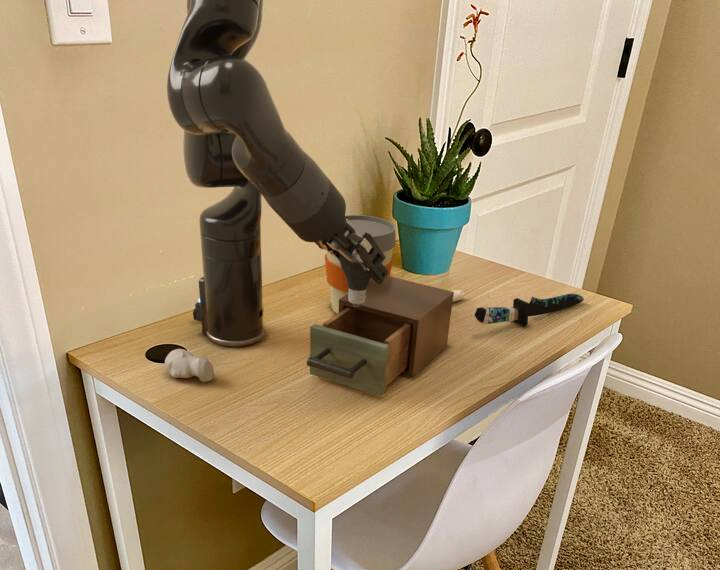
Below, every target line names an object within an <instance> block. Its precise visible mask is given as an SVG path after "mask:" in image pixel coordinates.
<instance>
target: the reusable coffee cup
mask: <svg viewBox="0 0 720 570" xmlns="http://www.w3.org/2000/svg"><path fill="white" fill-rule="evenodd" d="M345 218H346V219H348V220H349V221H350V222H351V223H352V224H353V225H354V227H355V229H356V230H357V231H358V232H359V233H360V234H361V235H364V234H365V233H369V234H370V235H371V236H372V237H373V239H374V240H375V242H376V243H377V245H378V246H379V248H380V249H381V251H382V252H383V254H384V255H385V257H386V258H385V259H384V261H383V262H382V264H383V265H384V267H385V268H386V269H387V270H388V275H387V276H391V272H392V267H393V262H394V259H393V257H392V256H393V252H394V251H393V250H394V248H395V247H396V244H397V242H396V240H397V239H396V238H397V237H396V226H395V224H394V223H392V222H391V221H389V220H387V219H385V218H381V217H377V216H372V215H363V214H347V215H346V214H345ZM325 251H326V253H325V255H324V262H325V263H324V265H325V274H326V275H325V276H326V282H327V284H328V285H329V291H330V292H329V293H330V301H331V309H332V311H333V312H334V313H336V314H338V313H339V299H340V298H342V297H343V296H345V295H347V294H348V292H349V288H348V284H347V278H346V275H345V273H344V271H343V269H342V267H341V264H340V261H339V260H338V259H337V258H336V257H335V255H334V256H333V255H330V254H329V252H328V251H327V250H325ZM370 279H372V278H370Z"/></svg>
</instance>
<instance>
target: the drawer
mask: <svg viewBox="0 0 720 570" xmlns="http://www.w3.org/2000/svg"><path fill="white" fill-rule="evenodd" d="M309 328H310V332H309V333H310V334H309V336H310V338H309V357H308V358H307V360H306V366H307V367H309V375H312V376H315V377H318V378H321V379H325V380H328V381H331V382H333V383H337V384H341V385H344V386H347V387H349V388H353V389H356V390H359V391H363V392H366V393H369V394H372V395H374V396H375V395H376V396H379V397H383V396H384V395H386V390H387V386H388V385H389V384H390V383H392V381H394V380H395V379H396V378H398V376H399V375H401V374H400V373H401V372H403V371H404V370H405V369H406V368H407V367H408V366H409V362H410V352H411V342H412V332H413V324H411V323H407V322H404V321H400V320H396V319H393V318H389V317H385V316H381V315H378V314H374V313H370V312H367V311H363V310H359V309H355V308H352V307H347V308H346V309H344V310H343V311H341V312H339V313H336V314H335V315H333V316H332V317H330V318H329V319H327V320H326V321H324V322H323V324H322V325H319V324H317V323H313V324H312V325H311V326H310V327H309Z"/></svg>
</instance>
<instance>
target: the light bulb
mask: <svg viewBox="0 0 720 570" xmlns="http://www.w3.org/2000/svg"><path fill="white" fill-rule="evenodd" d="M362 236H363V235H362ZM355 247H356V245H354V246H353V247H352V249H351V250H350V251H348V253H349V254H352V252H353V251H354V248H355ZM360 259H361V258H360ZM339 260H340V264H341V267H342V269H343V271H344V273H345V275H346V278H347V284H348V288H349V292H348V293H349V294H348V298H349V301H350V302H351V303H352V304H353V306H356V307H358V306H360V304H362V303H364V302H365V298H366V289H367V287H368V284H369V280H370V278H371V277H370V275H369V274H368V273H367V272H366V271H365V270H364V269H363V268H362V267H361V266H360V265H359V264H358V263H356V262H350V261H348V260H347V259H346V258H345V257H344V256H343V255H342V254H341V253H339ZM361 260H362V259H361ZM362 261H363V260H362Z"/></svg>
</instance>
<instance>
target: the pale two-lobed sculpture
mask: <svg viewBox="0 0 720 570" xmlns="http://www.w3.org/2000/svg"><path fill="white" fill-rule="evenodd" d="M164 368H165V371H166V373H167V374H168V375H169V376H171V377H172V378H174V379H179V378H180V379H191V378H193V376H194V377H197V378H199V380H200V382H202V383H208V382H209V381H211V380H213V379H214V376H215V371H214V365H213V364H212V362H211V361H210V359H209V358H208V356H206V355H201V356H199V357H197V356H194V354H193V353H192V352H190V351H188V350H186V349H183V348H176V349H173V350H171V351H169V353H168V354H167V355H166V357H165V359H164Z"/></svg>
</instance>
